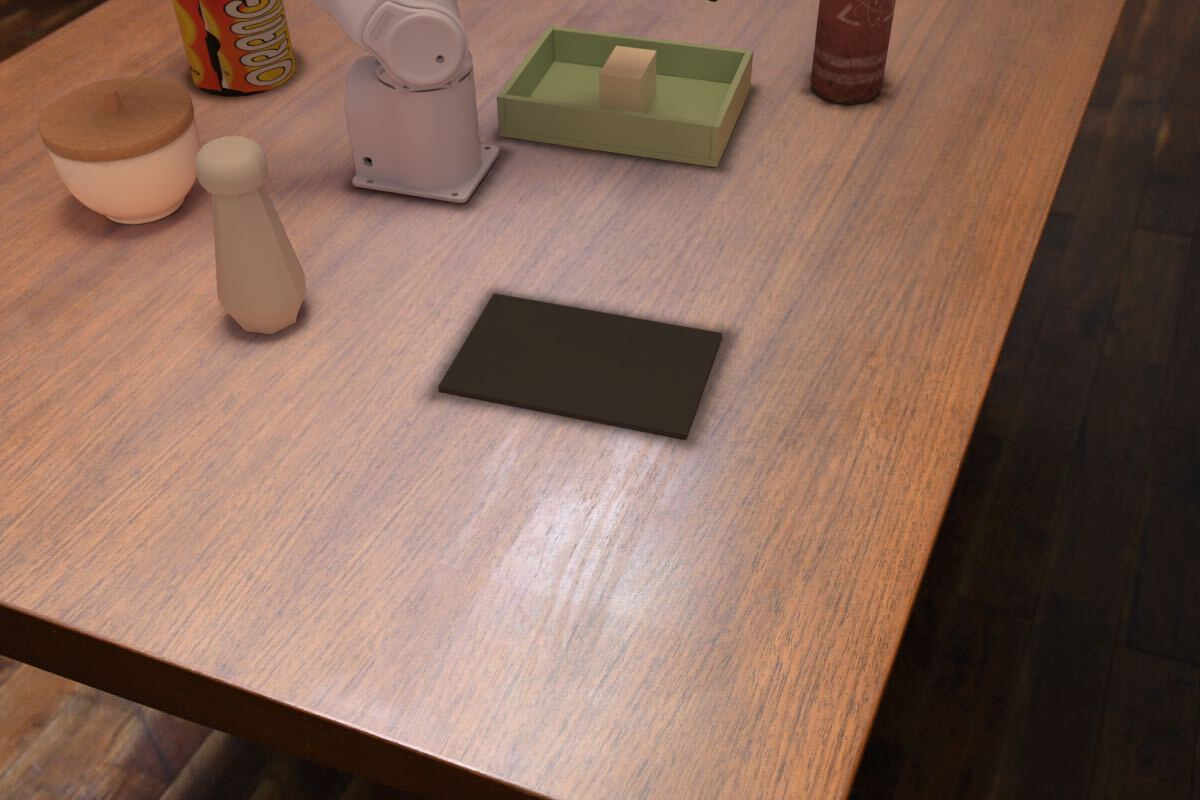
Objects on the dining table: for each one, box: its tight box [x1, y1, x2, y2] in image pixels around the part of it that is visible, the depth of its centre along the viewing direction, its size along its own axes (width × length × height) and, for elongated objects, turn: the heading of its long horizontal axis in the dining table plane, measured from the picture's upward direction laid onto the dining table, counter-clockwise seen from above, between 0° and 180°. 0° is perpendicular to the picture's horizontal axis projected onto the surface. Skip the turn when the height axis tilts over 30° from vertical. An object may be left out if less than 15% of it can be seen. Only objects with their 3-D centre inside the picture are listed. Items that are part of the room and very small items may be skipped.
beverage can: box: [171, 0, 296, 97], centre depth 104 cm, size 9×9×12 cm
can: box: [810, 0, 897, 105], centre depth 100 cm, size 6×6×14 cm
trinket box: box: [37, 76, 201, 225], centre depth 89 cm, size 11×11×9 cm
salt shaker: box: [195, 134, 307, 335], centre depth 78 cm, size 6×6×13 cm
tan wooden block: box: [599, 46, 657, 113], centre depth 100 cm, size 4×5×4 cm
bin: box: [496, 25, 754, 168], centre depth 101 cm, size 18×13×4 cm
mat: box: [437, 292, 723, 440], centre depth 78 cm, size 16×10×1 cm, turn 73°
